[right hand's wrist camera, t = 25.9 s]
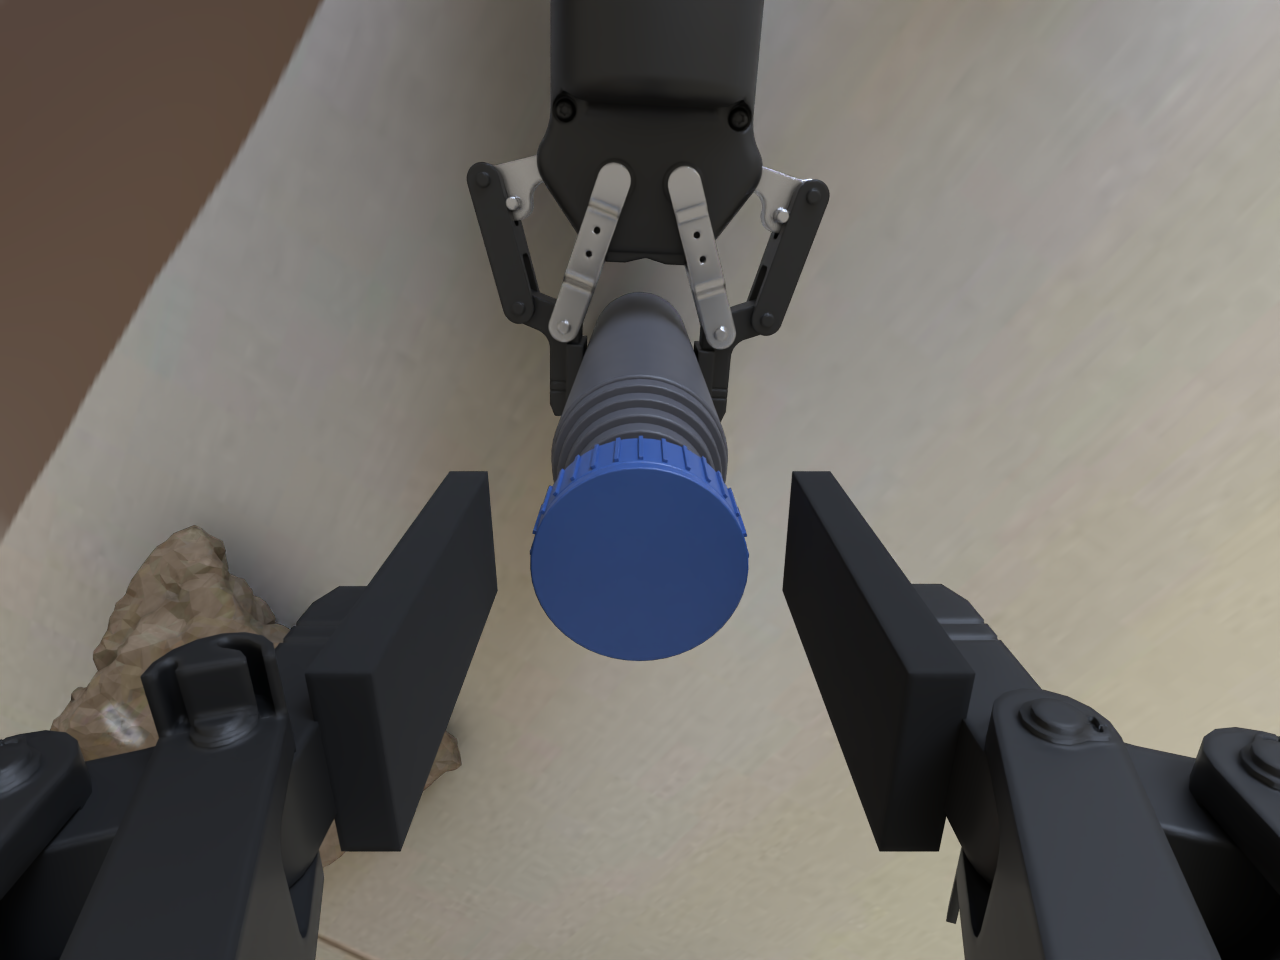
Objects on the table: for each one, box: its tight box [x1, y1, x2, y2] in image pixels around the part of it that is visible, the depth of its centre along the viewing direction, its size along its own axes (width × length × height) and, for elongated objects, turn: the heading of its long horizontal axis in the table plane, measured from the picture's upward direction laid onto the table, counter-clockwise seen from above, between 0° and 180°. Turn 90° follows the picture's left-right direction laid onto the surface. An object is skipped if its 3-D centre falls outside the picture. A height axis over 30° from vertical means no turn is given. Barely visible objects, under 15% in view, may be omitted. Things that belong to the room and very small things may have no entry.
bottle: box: [551, 292, 728, 483], centre depth 25 cm, size 5×5×24 cm
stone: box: [50, 525, 462, 867], centre depth 41 cm, size 21×15×6 cm
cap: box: [530, 436, 749, 661], centre depth 14 cm, size 4×4×2 cm
